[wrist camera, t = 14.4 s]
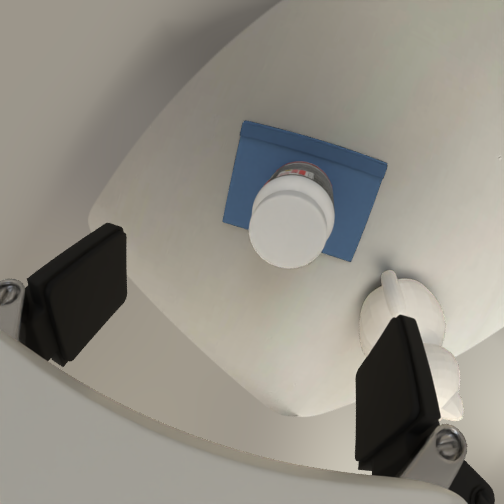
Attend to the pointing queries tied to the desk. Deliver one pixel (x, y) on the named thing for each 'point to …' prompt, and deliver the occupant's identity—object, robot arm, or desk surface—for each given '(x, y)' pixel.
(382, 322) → the cat figurine
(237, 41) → the desk surface
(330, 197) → the pill bottle
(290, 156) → the cloth
